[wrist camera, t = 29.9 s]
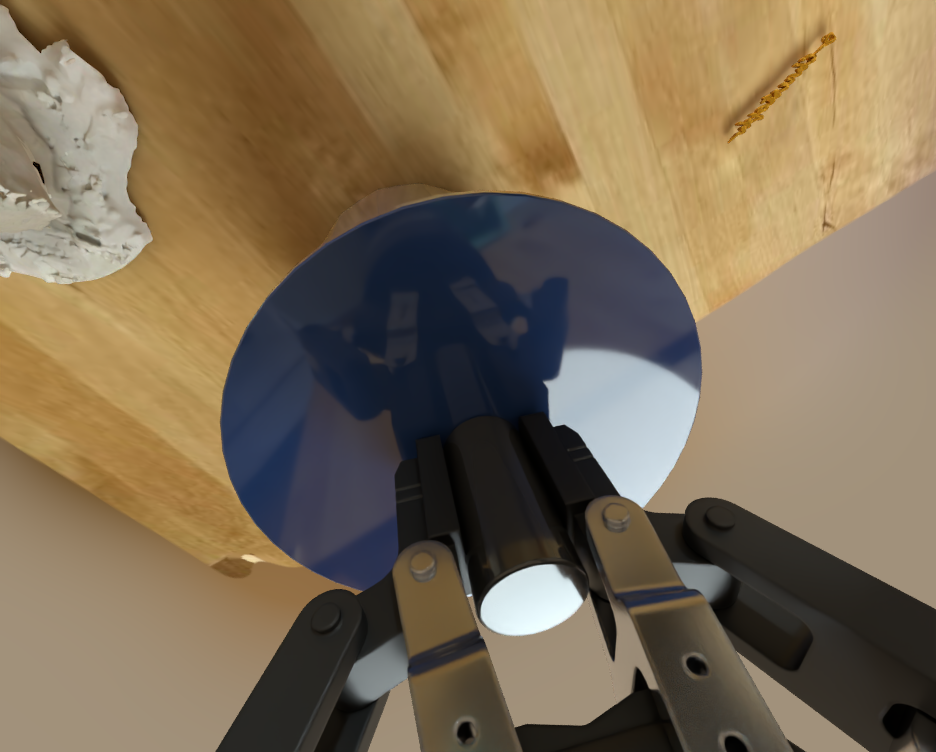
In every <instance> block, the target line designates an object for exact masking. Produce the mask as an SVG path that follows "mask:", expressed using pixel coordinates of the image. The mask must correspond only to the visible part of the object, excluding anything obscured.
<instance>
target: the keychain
mask: <svg viewBox="0 0 936 752" xmlns="http://www.w3.org/2000/svg"><path fill="white" fill-rule="evenodd" d="M824 38H825V39H824ZM828 38H829V40H828ZM835 40H836V36H835V35H834V34H833V32H830V33H829V34H828V35H825V36H824V37H822V39H821V42H822V43H823V44H822V45H821V46H820V47H819V48H818V49H817V50H816V51H815V52H814V53H813V54H812V53H811V54H808V55H806V56H805V57H803V58H801V59H799V60H798V63H795V64H793V65H792V66H791V67H793V68H794V67H797V69H795V72H796V73H794V74H791V75H789V76H787V78H786V79H785V80H784V81H785V82H783V83H782V84H780V85H778V88H782V89H780V90H778V89H776V90H774V91H772V92H771V93H770V94H769V95H767V96H764V97H762V98H761V100H762V101H761V102H760V104H762V103H764V102H766V104H765V105H762V106H760V107H758V108H757V109H755V111H754V113H751V114H748V115H747V116H748V117H750V118H748V119H746V120H745V121H744V122H742V121H740V122H738V123H736V124H735V126H741V127H739V128H738V129H737V130H738V131H739V132H737V133H735V134H734V135H733V136H732V137H731V138H730V140H729V141H728V143H730V142H731V141H732V140H733V139H734V138H735V137H737V136H738V135H741V134H743V133H745V132H746V129H747V128H750V127H751V123H753V122H755V121H756V120H762V119H763V118H764V116H763V115H761V114H760V113H762V112H764V111H766V110H767V109H768V108H769V106H770V105H772V104H773V103H774V102H775V99H777V98H779V97H780V96H781V95H782V94H781V92H783V91H785V90H787V89H788V88H789V85H790V84H792V83H793V82H794V81H795V77H798V76H800V75H801V74H802V71H804V70H806V69H807V68H808V65H809V64H811V63H813V62H814V61H816V57H817V56H816V53H818V52H819V51H820V50H821V49H822V48H823V47H824V46H827V45H829V44H831V43H833V42H834V41H835ZM804 60H807V62H806V64H805V63H800V62H802V61H804ZM770 96H771V97H770ZM762 108H763V109H762ZM753 118H755V119H753ZM751 119H752V120H751Z"/></svg>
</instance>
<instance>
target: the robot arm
mask: <svg viewBox="0 0 936 752" xmlns="http://www.w3.org/2000/svg"><path fill="white" fill-rule="evenodd" d="M518 424H519V433H520V435H521V437H522V439H523V441H524V443H525V446H526V448H527V450H528V452H529V454H530V456H531V458H532V460H533V462H534V464H535V466H536V468H537V470H538V472H539V475H540V477H541V479H542V481H543V483H544V485H545V487H546V489H547V491H548V493H549V495H550V497H551V499H552V501H553V504H554V506H555V508H556V510H557V512H558V514H559V516H560V518H561V520H562V522H563V524H564V526H565V528H566V530H567V532H568V535H569V537H570V539H571V541H572V543H573V545H574V547H575V549H576V551H577V553H578V555H579V557H580V559H581V561H582V563H583V566H584V568H585V570H586V572H587V574H588V577H589V592H588V595H587V599H588V602H589V606H590V609H591V612H592V615H593V618H594V621H595V624H596V627H597V631H598V634H599V637H600V640H601V643H602V646H603V649H604V653H605V656H606V659H607V662H608V665H609V669H610V673H611V678H612V684H613V690H614V695H615V700H616V705H614V706H613V707H612V708H610V709H609V710H607V711H606V712H604V713H603V714H602V715H600V716H599V717H597V718H596V719H595V720H593V721H592V722H591V723H589V724H587V725H582V726H573V725H540V724H539V725H538V724H525V725H522V726H519V727H514V724H513V722H512V719H511V716H510V713H509V710H508V707H507V704H506V701H505V698H504V696H503V693H502V690H501V687H500V684H499V681H498V678H497V676H496V672H495V670H494V667H493V664H492V661H491V658H490V655H489V652H488V650H487V647H486V644H485V642H484V639H483V637H482V636H481V635H480V633H479V630H478V627H477V624H476V621H475V618H474V615H473V613H472V610H471V607H470V604H469V601H468V598H467V595H469V594H472V592H471V588H470V583H469V578H468V573H467V569H466V563H465V557H466V555H465V550H464V545H463V541H462V536H461V531H460V526H459V522H458V517H457V513H456V508H455V503H454V499H453V494H452V490H451V485H450V480H449V476H448V471H447V466H446V462H445V457H444V453H443V448H442V443H441V439H440V435H435V436H431V437H426V438H422V439H417V440H415V441H416V449H417V457H418V458H413V459H409V460H404V461H401V462H400V464H399V466H398V469H397V471H396V473H395V475H394V479H395V491H396V492H395V496H396V513H397V530H398V547H399V549H398V557H397V558H396V560H395V562H394V565H393V568H392V569H391V571H390V572H389V573H388V574H387V575H386V576H385V577H384V578H383V579H382V580H381V581H379V582H378V583H376V584H375V585H373V586H372V587H370V588H368V589H366V590H365V591H363V592H361V593H360V594H358V595H354V594H353V593H352V592H350V591H347V590H343V589H335V590H330V591H327V592H324V593H322V594H320V595H318V596H317V597H315V598H314V599H312V600H311V601H310V602H309V603H308V604H307V605H306V606H305V607H304V608H303V610H302V611H301V613H300V614H299V616H298V617H297V619H296V620H295V622H294V624H293V626H292V627H291V629H290V630H289V632H288V634H287V635H286V637H285V639H284V640H283V642H282V644H281V645H280V647H279V648H278V650H277V652H276V653H275V655H274V657H273V658H272V660H271V661H270V663H269V665H268V667H267V668H266V670H265V671H264V673H263V675H262V676H261V678H260V680H259V681H258V683H257V684H256V686H255V688H254V690H253V691H252V693H251V694H250V696H249V698H248V699H247V701H246V702H245V704H244V706H243V707H242V709H241V711H240V712H239V714H238V716H237V717H236V719H235V721H234V722H233V724H232V726H231V727H230V729H229V730H228V732H227V734H226V735H225V737H224V739H223V740H222V742H221V744H220V745H219V747H218V749H217V750H216V752H367V751H368V749H369V746H370V743H371V741H372V738H373V735H374V733H375V730H376V728H377V725H378V722H379V720H380V717H381V715H382V712H383V709H384V706H385V704H386V701H387V699H388V696H389V693H390V690H391V689H393V688H394V687H395V686H397V685H398V684H400V683H401V682H403V681H404V680H405V679H407V678H408V681H409V687H410V693H411V698H412V704H413V709H414V715H415V720H416V726H417V732H418V737H419V743H420V749H421V752H805V751H804V750H802V749H801V748H799V747H798V746H796V745H795V744H794V743H792V742H791V741H789V740H788V739H786V738H785V736H784V734H783V732H782V731H781V729H780V727H779V725H778V724H777V722H776V720H775V718H774V717H773V715H772V713H771V712H770V710H769V708H768V706H767V705H766V703H765V701H764V699H763V698H762V696H761V694H760V692H759V690H758V689H757V687H756V685H755V683H754V682H753V680H752V678H751V676H750V675H749V673H748V671H747V669H746V668H745V666H744V664H743V663H742V661H741V659H740V657H739V655H738V654H737V652H738V653H740V654H741V655H742V656H744V657H745V658H746V659H748V660H749V661H750V662H752V663H753V664H754V665H756V666H757V667H758V668H760V669H761V670H762V671H764V672H765V673H766V674H767V675H769V676H770V677H771V678H773V679H774V680H775V681H777V682H778V683H779V684H781V685H782V686H784V687H785V688H786V689H787V690H789V691H790V692H791V693H793V694H794V695H795V696H797V697H798V698H799V699H801V700H802V701H803V702H805V703H806V704H807V705H809V706H810V707H811V708H813V709H814V710H815V711H817V712H818V713H819V714H821V715H822V716H823V717H824V718H826V719H827V720H829V721H830V722H831V723H832V724H834V725H835V726H836V727H838V728H839V729H841V730H842V731H843V732H844V733H846V734H847V735H848V736H850V737H851V738H852V739H854V740H855V741H856V742H858V743H859V744H860V745H862V746H863V747H864V748H866V749H867V750H868V751H869V752H936V609H934V608H932V607H930V606H929V605H927V604H925V603H923V602H921V601H919V600H917V599H915V598H913V597H911V596H909V595H907V594H905V593H904V592H902V591H900V590H898V589H896V588H894V587H892V586H890V585H888V584H887V583H885V582H883V581H881V580H879V579H877V578H875V577H873V576H871V575H869V574H867V573H865V572H864V571H862V570H860V569H858V568H856V567H854V566H852V565H850V564H848V563H846V562H844V561H843V560H840V559H839V558H837V557H835V556H833V555H831V554H829V553H827V552H825V551H823V550H821V549H820V548H818V547H816V546H814V545H812V544H810V543H808V542H806V541H804V540H802V539H800V538H799V537H797V536H795V535H793V534H791V533H789V532H787V531H785V530H783V529H781V528H779V527H778V526H776V525H774V524H772V523H770V522H768V521H766V520H764V519H762V518H760V517H758V516H757V515H755V514H753V513H751V512H749V511H747V510H745V509H743V508H741V507H739V506H737V505H736V504H733V503H731V502H729V501H726V500H723V499H718V498H701V499H697V500H695V501H693V502H691V503H690V504H689V505H688V506H687V508H686V510H685V514H674V513H672V514H671V513H654V512H648V511H645V510H643V509H642V508H641V507H640V506H639V505H638V504H637V503H635V502H634V501H632V500H630V499H628V498H625V497H622V496H621V495H620V494H619V493H618V491H617V490H616V488H615V487H614V485H613V484H612V482H611V481H610V479H609V478H608V476H607V475H606V473H605V472H604V470H603V469H602V467H601V466H600V465H599V463H598V462H597V460H596V459H595V458H594V457H593V454H592V453H591V451H590V450H589V448H587V446H586V444H585V442H584V441H583V439H582V438H581V437H580V435H579V434H578V433H577V432H576V431H574V430H573V429H571V428H569V427H568V426H566V425H565V424H563V425H559V426H555V427H553V426H552V424H551V423H550V421H549V419H548V418H547V416H546V414H545V413H544V412H539V413H534V414H530V415H525V416H521V417H519V418H518ZM736 651H737V652H736Z"/></svg>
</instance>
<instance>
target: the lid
mask: <svg viewBox="0 0 936 752" xmlns="http://www.w3.org/2000/svg"><path fill="white" fill-rule="evenodd" d="M701 379H702V362H701V347H700V342H699V337H698V332H697V328H696V323H695V320H694V318H693V315H692V313H691V310H690V308H689V305H688V303H687V300H686V297H685V295H684V294H683V292H682V291H681V289H680V287H679V286H678V284H677V282H676V281H675V279H674V277H673V276H672V274H671V273H670V271H669V270H668V269H667V268H666V267H665V266H664V264H663V263H662V262H661V261H660V260H659V259H658V258H657V257H656V255H655V254H654V253H653V252H652V251H651V250H650V249H649V248H648V247H646V246H645V245H644V244H643V243H641V242H640V241H639V240H638V239H637V238H635V237H634V236H633V235H632V234H630V233H629V232H628V231H627V230H625V229H623V228H622V227H620V226H618V225H616V224H614V223H613V222H611V221H609V220H607V219H605V218H604V217H602V216H600V215H598V214H597V213H594V212H591V211H588V210H586V209H583V208H580V207H577V206H575V205H572V204H569V203H566V202H564V201H561V200H558V199H554V198H549V197H544V196H539V195H534V194H529V193H524V192H513V191H491V190H477V191H467V192H457V193H447V194H439V195H435V196H431V197H427V198H423V199H419V200H415V201H411V202H407V203H403V204H400V205H397V206H395V207H392V208H390V209H387V210H385V211H382V212H380V213H377V214H375V215H372V216H370V217H367V218H365V219H363V220H361V221H359V222H357V223H356V224H354V225H352V226H350V227H349V228H347V229H345V230H344V231H342V232H340V233H338V234H337V235H335V236H333V237H331V238H330V239H328V240H327V241H325V242H324V243H323V244H322V245H320V246H319V247H318V248H316V249H315V250H314V251H313V252H311V253H310V254H309V255H308V256H306V257H305V258H304V259H303V260H301V261H300V262H299V263H297V264H296V265H295V266H294V268H293V269H292V270H291V271H290V272H289V273H288V274H287V275H286V276H285V277H284V278H283V279H282V280H281V281H280V282H279V283H278V285H277V286H276V287H275V288H274V289H273V290H272V291H271V292H270V294H269V295H268V296H267V298H266V299H265V301H264V302H263V304H262V305H261V307H260V308H259V310H258V311H257V313H256V314H255V315H254V317H253V318H252V320H251V321H250V323H249V324H248V326H247V327H246V329H245V332H244V334H243V336H242V338H241V340H240V342H239V344H238V346H237V349H236V351H235V353H234V355H233V357H232V359H231V363H230V367H229V370H228V374H227V378H226V381H225V385H224V389H223V395H222V405H221V416H220V428H221V440H222V451H223V455H224V458H225V462H226V466H227V470H228V474H229V477H230V480H231V482H232V484H233V487H234V489H235V491H236V493H237V495H238V497H239V500H240V502H241V504H242V505H243V507H244V508H245V510H246V511H247V513H248V514H249V515H250V517H251V518H252V520H253V521H254V523H255V524H256V525H257V527H258V528H259V529H260V530H261V531H262V532H263V533H264V534H265V535H266V536H267V537H268V538H269V540H270V541H271V542H272V543H273V544H275V545H276V546H277V547H278V548H279V549H281V550H282V551H283V552H284V553H285V554H287V555H288V556H289V557H290V558H292V559H293V560H295V561H296V562H298V563H300V564H301V565H303V566H304V567H306V568H308V569H309V570H311V571H312V572H314V573H317V574H319V575H321V576H323V577H325V578H327V579H329V580H331V581H334V582H336V583H339V584H342V585H345V586H348V587H351V588H354V589H357V590H360V591H365V590H366V589H368V588H370V587H372V586H373V585H375V584H376V583H378V582H379V581H381V580H382V579H383V578H384V577H385V576H386V575H387V574H388V573H389V572H390V571H391V569H392V568H393V565H394V562H395V560H396V558H397V557H398V549H399V547H398V530H397V513H396V496H395V492H396V491H395V479H394V475H395V473H396V471H397V469H398V466H399V464H400V462H401V461H404V460H409V459H413V458H418V457H417V449H416V441H415V440H417V439H422V438H426V437H431V436H435V435H440V439H441V443H442V448H443V453H444V457H445V462H446V466H447V471H448V476H449V480H450V485H451V490H452V494H453V499H454V503H455V508H456V513H457V517H458V522H459V526H460V531H461V536H462V541H463V545H464V550H465V555H466V557H465V563H466V569H467V573H468V578H469V583H470V588H471V592H472V594H469V595H467V597H470V596H472V597H473V602H474V606H475V611H476V615H477V618H478V619H479V621H480V622H481V624H482V625H483V626H484V627H485V628H487V629H488V630H490V631H491V632H494V633H496V634H500V635H505V636H525V635H531V634H535V633H539V632H542V631H545V630H547V629H550V628H552V627H554V626H557V625H558V624H560V623H562V622H564V621H565V620H566V619H568V618H569V617H570V616H572V615H573V614H574V613H575V612H576V611H577V610H578V609H579V608H580V607H581V606H582V604H583V603H584V601H585V599H586V598H587V595H588V592H589V577H588V574H587V572H586V570H585V568H584V566H583V563H582V561H581V559H580V557H579V555H578V553H577V551H576V549H575V547H574V545H573V543H572V541H571V539H570V537H569V535H568V532H567V530H566V528H565V526H564V524H563V522H562V520H561V518H560V516H559V514H558V512H557V510H556V508H555V506H554V504H553V501H552V499H551V497H550V495H549V493H548V491H547V489H546V487H545V485H544V483H543V481H542V479H541V477H540V475H539V472H538V470H537V468H536V466H535V464H534V462H533V460H532V458H531V456H530V454H529V452H528V450H527V448H526V446H525V443H524V441H523V439H522V437H521V435H520V433H519V424H518V418H519V417H521V416H525V415H530V414H534V413H539V412H544V413H545V414H546V416H547V418H548V419H549V421H550V423H551V424H552V426H553V427H555V426H559V425H563V424H565V425H566V426H568V427H569V428H571V429H573V430H574V431H576V432H577V433H578V434H579V435H580V437H581V438H582V439H583V441H584V442H585V444H586V446H587V448H589V450H590V451H591V453H592V454H593V457H594V458H595V459H596V460H597V462H598V463H599V465H600V466H601V467H602V469H603V470H604V472H605V473H606V475H607V476H608V478H609V479H610V481H611V482H612V484H613V485H614V487H615V488H616V490H617V491H618V493H619V494H620V495H621V496H622V497H625V498H628V499H630V500H632V501H634V502H635V503H637V504H638V505H639V506H640V507H641V508H643V507H644V506H645V505H646V504H647V503H648V502H649V501H650V499H651V498H652V497H653V495H654V494H655V493H656V492H657V491H658V490H659V488H660V487H661V486H662V484H663V483H664V481H665V480H666V478H667V477H668V475H669V474H670V472H671V471H672V469H673V468H674V466H675V464H676V462H677V460H678V458H679V456H680V454H681V452H682V450H683V449H684V447H685V445H686V442H687V440H688V437H689V434H690V432H691V429H692V426H693V423H694V420H695V416H696V412H697V408H698V403H699V399H700V390H701Z"/></svg>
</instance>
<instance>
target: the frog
mask: <svg viewBox="0 0 936 752" xmlns="http://www.w3.org/2000/svg"><path fill="white" fill-rule="evenodd" d="M66 41H68V40H63V39H62V40H61V41H59V42H54V43H53V45H47V48H46V49H43V50H42V52H41V53H40V52H39V51H38V50H37V49H36V48H35V47H34V46H33V45H32V44H31V43H30V42H29V41H28V40H27V39H26V38H25V37H24V36H23V35H22V34H21V33H20V32H19V31H18V30H17V27H16V25H15V22H14V21H13V19H12V17H11V16H10V14H9V9H8V8H6V7H4V6H2V5H0V276H3V277H9V276H10V274H11V271H12V272H16V273H21V274H26V275H30V276H34V277H37V278H41V279H43V280H45V281H46V282H47V283H51V282H56V283H58V284H71V283H73V282H82V281H90V280H95V279H99V278H102V277H104V276H107V275H109V274H112V273H114V272H116V271H117V270H119V269H121V268H123V267H124V266H125V265H127V264H128V263H129V262H130V261H132V260H133V259H134V258H135V257H136V256H137V255H138V254H139V253H140V252H141V251H142V249H143V247H144V246H145V245H146V244H147V243H150V242H151V241H153V239H152V235H151V231H150V230H149V228H148V226H147V223H145V222H142V219H141V217H140V216H138V215H137V213H136V212H135V210H136V207H135V206H134V205H133V204H132V203H131V202H130V200H129V197H128V194H127V191H126V187H127V184H128V183H127V173H128V171H129V169H130V167H131V159H132V155H133V151H134V150H135V149H136V148H137V136H138V124H137V123H136V121H135V119H134V117H133V115H132V114H131V113H130V112H129V111H128V105H127V104H126V102H125V100H124V96H123V95H122V94H121V93H120V89H117V88H113V87H112V86H111V85H109V84H108V83H107V82H106V80H105V77H104V76H103V75H102V74H101V73H100V72H99V71H98V70H96V69H95V68H94V67H92V66H91V65H89V64H88V63H87V62H85V61H84V60H83V59H82V58H80V57H79V56H78V55H76V54H75V53H74V52H73V51H71V50H70V49H69V48H68V47H69V44H68V43H67V42H66ZM33 161H34V162H36V163H38V164H40V167H41V170H42V173H43V177H44V182H45V184H43V182H42V179H41V177H40V174H39V172H38V170H37V169H36V168H35V166H34V165H33ZM2 269H3V270H2Z"/></svg>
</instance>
